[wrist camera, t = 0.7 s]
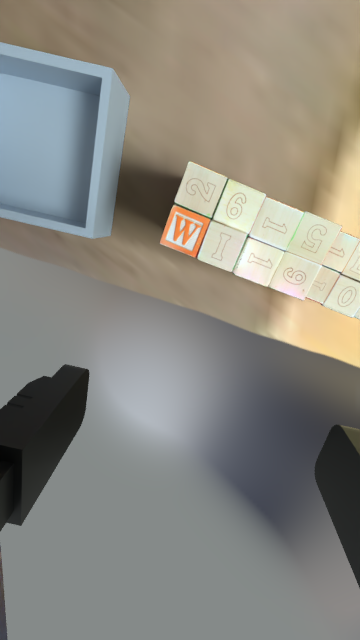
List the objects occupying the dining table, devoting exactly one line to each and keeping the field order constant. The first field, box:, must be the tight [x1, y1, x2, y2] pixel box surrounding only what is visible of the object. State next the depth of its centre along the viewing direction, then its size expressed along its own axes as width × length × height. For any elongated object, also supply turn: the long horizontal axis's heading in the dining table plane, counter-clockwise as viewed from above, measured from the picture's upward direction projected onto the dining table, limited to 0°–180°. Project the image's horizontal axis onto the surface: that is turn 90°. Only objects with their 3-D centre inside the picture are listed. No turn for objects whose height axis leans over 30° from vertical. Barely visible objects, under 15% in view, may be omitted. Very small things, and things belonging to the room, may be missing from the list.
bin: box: [0, 42, 130, 239], centre depth 30 cm, size 14×14×6 cm
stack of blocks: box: [160, 161, 360, 319], centre depth 28 cm, size 21×6×12 cm, turn 68°
